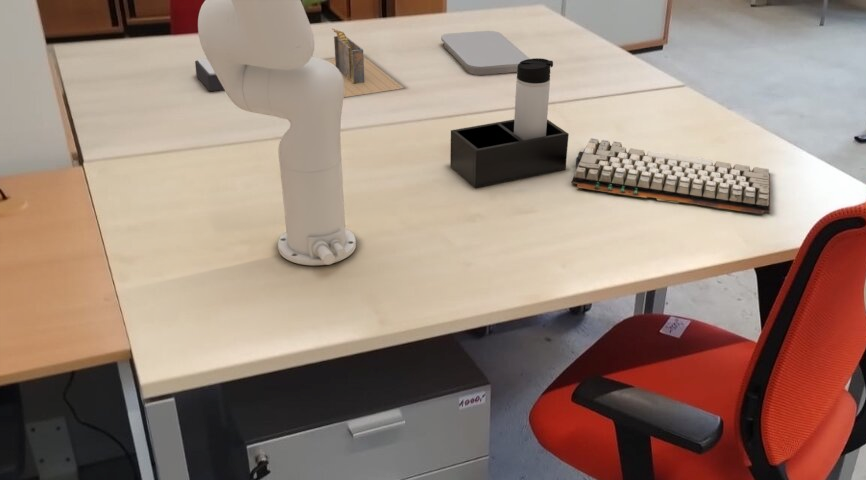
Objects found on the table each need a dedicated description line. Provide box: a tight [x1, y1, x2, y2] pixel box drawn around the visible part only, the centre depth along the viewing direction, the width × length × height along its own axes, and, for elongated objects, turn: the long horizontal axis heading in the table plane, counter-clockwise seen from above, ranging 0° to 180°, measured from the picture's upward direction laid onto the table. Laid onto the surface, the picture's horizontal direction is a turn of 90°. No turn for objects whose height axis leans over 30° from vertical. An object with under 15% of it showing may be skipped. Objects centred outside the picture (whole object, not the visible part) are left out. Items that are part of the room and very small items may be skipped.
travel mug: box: [513, 57, 554, 140], centre depth 180 cm, size 6×7×20 cm
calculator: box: [194, 58, 225, 92], centre depth 216 cm, size 11×4×15 cm
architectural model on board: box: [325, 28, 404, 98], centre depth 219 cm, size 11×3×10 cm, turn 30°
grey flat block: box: [440, 30, 531, 76], centre depth 237 cm, size 16×26×2 cm, turn 21°
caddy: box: [449, 118, 569, 189], centre depth 182 cm, size 10×20×8 cm, turn 119°
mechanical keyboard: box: [571, 137, 771, 215], centre depth 181 cm, size 38×19×3 cm, turn 77°
